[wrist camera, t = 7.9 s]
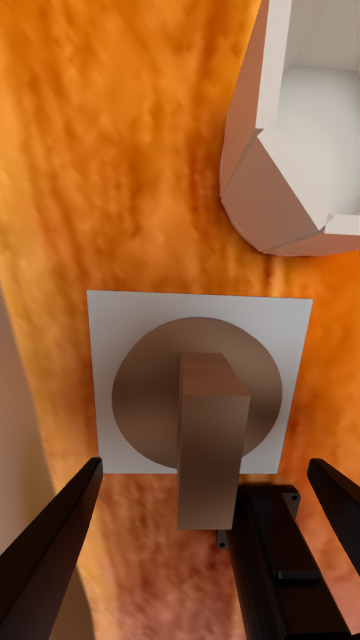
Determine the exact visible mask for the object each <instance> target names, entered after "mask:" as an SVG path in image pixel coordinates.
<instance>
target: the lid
mask: <svg viewBox="0 0 360 640" xmlns="http://www.w3.org/2000/svg"><path fill="white" fill-rule="evenodd" d="M281 404H282V381H281V376H280V373H279V370H278V367H277V365H276V363H275V361H274V359H273V357H272V356H271V354H270V353H269V352H268V350H267V349H266V348H265V347H264V346H263V345H262V344H261V343H260V342H259V341H258V340H257V339H255V338H254V337H253V336H251V335H250V334H249V333H247V332H246V331H244V330H243V329H241V328H239V327H238V326H236V325H234V324H231V323H229V322H226V321H223V320H219V319H215V318H208V317H188V318H182V319H177V320H174V321H170V322H167V323H165V324H163V325H160V326H158V327H156V328H155V329H153V330H151V331H150V332H148V333H147V334H146V335H144V336H143V337H142V338H141V339H139V341H138V342H137V343H136V344H135V345H134V346H133V347H132V348H131V350H130V351H129V353H128V354H127V355H126V357H125V358H124V360H123V361H122V363H121V365H120V367H119V369H118V371H117V373H116V376H115V379H114V382H113V388H112V409H113V414H114V418H115V421H116V423H117V426H118V428H119V430H120V432H121V433H122V435H123V436H124V438H125V439H126V440H127V442H128V443H129V444H130V445H131V446H132V447H133V448H134V449H135V450H136V451H137V452H139V453H140V454H141V455H143V456H144V457H146V458H148V459H149V460H151V461H153V462H155V463H158V464H160V465H163V466H166V467H170V468H173V469H177V530H230V529H232V522H233V515H234V508H235V501H236V494H237V487H238V480H239V473H240V466H241V459H242V457H244V456H245V455H247V454H248V453H250V452H251V451H252V450H254V449H255V448H256V447H257V446H258V445H259V444H260V443H261V442H262V441H263V440H264V439H265V438H266V436H267V435H268V434H269V432H270V431H271V429H272V428H273V426H274V424H275V422H276V420H277V417H278V415H279V412H280V408H281Z"/></svg>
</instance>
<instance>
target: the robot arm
mask: <svg viewBox="0 0 360 640" xmlns="http://www.w3.org/2000/svg"><path fill="white" fill-rule="evenodd" d="M307 476H308V479H309V482H310V484H311V486H312V488H313V490H314V492H315V494H316V496H317V498H318V500H319V502H320V504H321V506H322V508H323V510H324V512H325V514H326V516H327V518H328V520H329V522H330V524H331V526H332V528H333V530H334V532H335V534H336V536H337V537H338V539H339V541H340V543H341V545H342V546H343V548H344V550H345V552H346V553H347V555H348V557H349V559H350V560H351V562H352V564H353V566H354V567H355V569H356V571H357V573H358V574H359V576H360V487H359V486H358V485H357V484H355V483H354V482H353V481H351V480H350V479H349V478H347V477H346V476H344V475H343V474H342V473H340V472H339V471H338V470H336V469H335V468H334V467H332V466H331V465H330V464H328V463H327V462H326V461H324V460H323V459H320V458H312V459H310V462H309V466H308V470H307ZM102 478H103V462H102V458H101V457H93V458H91V459H90V460H89V461H88V462H87V463H86V464H85V465H84V466H83V467H82V468H81V469H80V470H79V472H78V473H77V474H76V475H75V476H74V477H73V478H72V479H71V480H70V481H69V482H68V483H67V484H66V486H65V487H64V488H63V489H62V490H61V491H60V492H59V493H58V494H57V495H56V496H55V497H54V498H53V500H52V501H51V502H50V503H49V504H48V505H47V506H46V507H45V508H44V509H43V510H42V511H41V512H40V514H39V515H38V516H37V517H36V518H35V519H34V520H33V521H32V522H31V523H30V524H29V525H28V526H27V528H26V529H25V530H24V531H23V532H22V533H21V534H20V535H19V536H18V537H17V538H16V539H15V540H14V541H13V543H12V544H11V545H10V546H9V547H8V548H7V549H6V550H5V551H4V552H3V554H1V556H0V640H48V639H49V637H50V634H51V631H52V628H53V626H54V623H55V620H56V617H57V615H58V612H59V609H60V606H61V603H62V601H63V598H64V595H65V593H66V590H67V587H68V584H69V581H70V579H71V576H72V573H73V571H74V568H75V565H76V562H77V560H78V557H79V554H80V551H81V549H82V546H83V543H84V540H85V537H86V534H87V531H88V528H89V524H90V521H91V517H92V514H93V510H94V507H95V503H96V500H97V496H98V493H99V489H100V485H101V482H102ZM300 498H301V496H300V494H299V493H298V491H297V489H296V488H237V494H236V501H235V508H234V515H233V522H232V529H230V530H217V532H216V544H217V547H218V548H219V549H229V553H230V558H231V563H232V568H233V573H234V578H235V583H236V588H237V593H238V598H239V603H240V608H241V613H242V618H243V623H244V628H245V633H246V638H247V640H360V633H358V634H354V635H351V632H350V630H349V628H348V626H347V624H346V622H345V620H344V618H343V616H342V614H341V612H340V610H339V608H338V606H337V604H336V602H335V600H334V598H333V596H332V594H331V592H330V590H329V588H328V586H327V584H326V582H325V580H324V578H323V576H322V574H321V571H320V568H319V566H318V565H317V563H316V561H315V559H314V557H313V555H312V553H311V551H310V549H309V547H308V545H307V543H306V541H305V539H304V537H303V535H302V533H301V531H300V529H299V527H298V525H297V523H296V521H295V518H296V514H297V510H298V506H299V502H300Z"/></svg>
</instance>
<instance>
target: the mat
mask: <svg viewBox="0 0 360 640" xmlns="http://www.w3.org/2000/svg"><path fill="white" fill-rule="evenodd" d="M87 301H88V315H89V328H90V342H91V356H92V369H93V383H94V396H95V410H96V424H97V437H98V451H99V457H101V458H102V462H103V473H177V469H173V468H170V467H166V466H163V465H160V464H158V463H155V462H153V461H151V460H149V459H148V458H146V457H144V456H143V455H141V454H140V453H139V452H137V451H136V450H135V449H134V448H133V447H132V446H131V445H130V444H129V443H128V442H127V440H126V439H125V438H124V436H123V435H122V433H121V432H120V430H119V428H118V426H117V423H116V421H115V418H114V414H113V409H112V388H113V382H114V379H115V376H116V373H117V371H118V369H119V367H120V365H121V363H122V361H123V360H124V358H125V357H126V355H127V354H128V353H129V351H130V350H131V348H132V347H133V346H134V345H135V344H136V343H137V342H138V341H139V339H141V338H142V337H143V336H144V335H146V334H147V333H148V332H150V331H151V330H153V329H155V328H156V327H158V326H160V325H163V324H165V323H167V322H170V321H174V320H177V319H182V318H188V317H208V318H215V319H219V320H223V321H226V322H229V323H231V324H234V325H236V326H238V327H239V328H241V329H243V330H244V331H246V332H247V333H249V334H250V335H251V336H253V337H254V338H255V339H257V340H258V341H259V342H260V343H261V344H262V345H263V346H264V347H265V348H266V349H267V350H268V352H269V353H270V354H271V356H272V357H273V359H274V361H275V363H276V365H277V367H278V370H279V373H280V376H281V381H282V404H281V408H280V412H279V415H278V417H277V420H276V422H275V424H274V426H273V428H272V429H271V431H270V432H269V434H268V435H267V436H266V438H265V439H264V440H263V441H262V442H261V443H260V444H259V445H258V446H257V447H256V448H255V449H254V450H252V451H251V452H250V453H248V454H247V455H245V456H244V457H242V459H241V466H240V473H239V474H277V471H278V466H279V462H280V457H281V452H282V447H283V442H284V437H285V433H286V428H287V423H288V418H289V413H290V409H291V404H292V399H293V394H294V389H295V384H296V380H297V375H298V370H299V365H300V360H301V356H302V351H303V346H304V341H305V336H306V331H307V327H308V322H309V317H310V312H311V307H312V302H313V299H303V298H279V297H254V296H230V295H205V294H181V293H156V292H131V291H107V290H87Z"/></svg>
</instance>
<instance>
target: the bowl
mask: <svg viewBox="0 0 360 640" xmlns="http://www.w3.org/2000/svg"><path fill="white" fill-rule="evenodd" d="M219 186H220V196H219V197H221V198H222V200H221V202H222V204H223V206H224V209H225V212H226V214H227V216H228V218H229V220H230V222H231V224H232V225H233V227H234V228H235V230H236V231H237V232H238V234H239V235H240V236H241V237H242V238H243V239H244V240H245V241H246V242H248V243H249V244H250V245H251V246H253V247H255V248H256V249H257V250H258V251H259V252H261V251H262V254H271V255H274V256H281V257H295V256H318V257H322V256H328V255H333V254H339V253H345V252H350V251H356V250H360V0H262V1H261V4H260V8H259V11H258V14H257V17H256V21H255V24H254V27H253V30H252V34H251V37H250V40H249V43H248V47H247V50H246V53H245V56H244V60H243V63H242V66H241V69H240V73H239V76H238V79H237V82H236V86H235V89H234V92H233V96H232V99H231V102H230V105H229V109H228V112H227V115H226V122H225V135H224V144H223V148H222V152H221V158H220V165H219Z"/></svg>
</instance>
